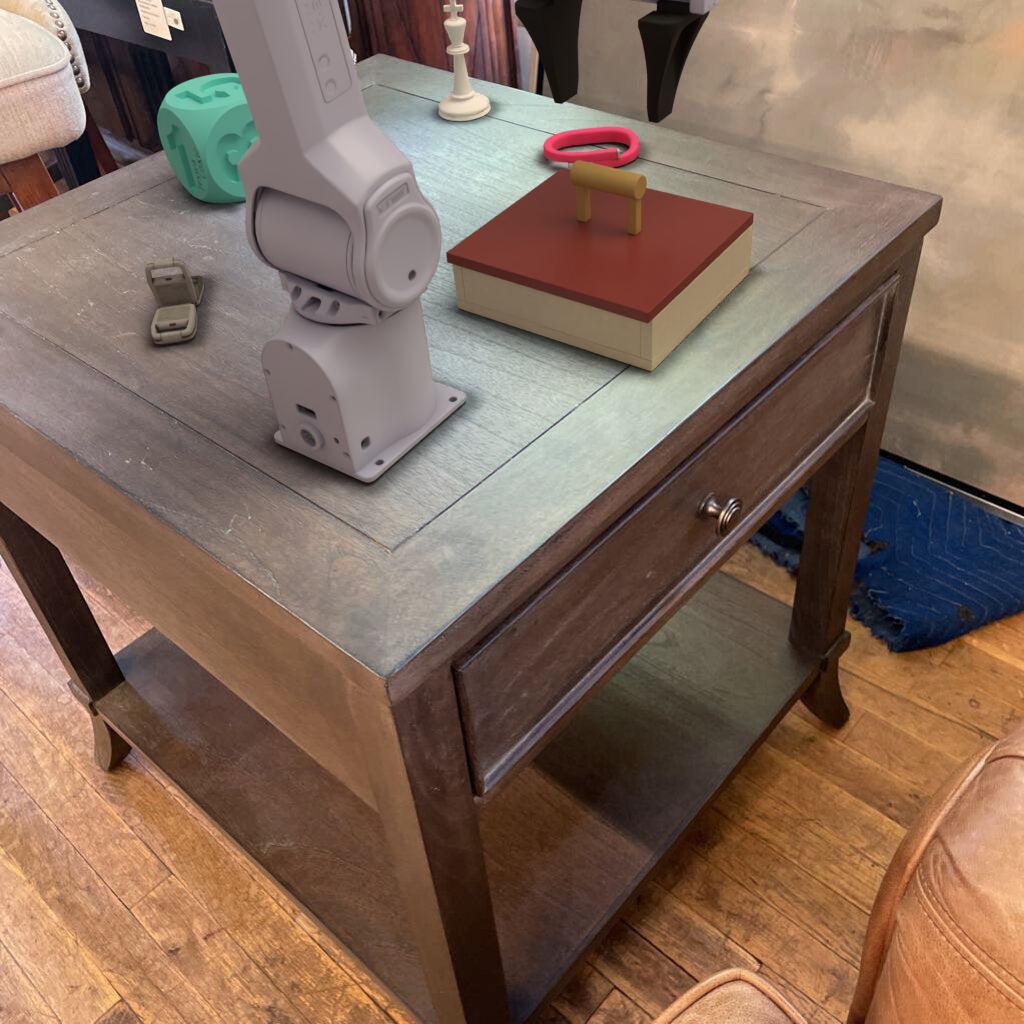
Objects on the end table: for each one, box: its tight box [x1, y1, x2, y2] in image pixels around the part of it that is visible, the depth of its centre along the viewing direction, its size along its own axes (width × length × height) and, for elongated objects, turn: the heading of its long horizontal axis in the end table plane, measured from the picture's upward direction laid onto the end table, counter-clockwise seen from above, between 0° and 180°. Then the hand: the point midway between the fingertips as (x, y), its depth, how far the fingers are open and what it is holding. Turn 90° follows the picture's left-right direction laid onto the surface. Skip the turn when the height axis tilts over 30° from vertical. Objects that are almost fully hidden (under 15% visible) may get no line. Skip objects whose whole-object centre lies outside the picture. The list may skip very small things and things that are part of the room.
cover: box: [445, 160, 755, 323], centre depth 71 cm, size 14×16×5 cm
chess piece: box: [438, 0, 492, 122], centre depth 97 cm, size 5×5×10 cm
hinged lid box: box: [451, 223, 754, 372], centre depth 74 cm, size 14×16×4 cm
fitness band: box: [542, 125, 640, 170], centre depth 91 cm, size 8×6×2 cm
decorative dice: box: [156, 72, 259, 204], centre depth 90 cm, size 8×8×8 cm
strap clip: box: [144, 257, 205, 345], centre depth 76 cm, size 8×3×4 cm, turn 7°
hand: (611, 107), depth 74 cm, fingers open, 7 cm apart
